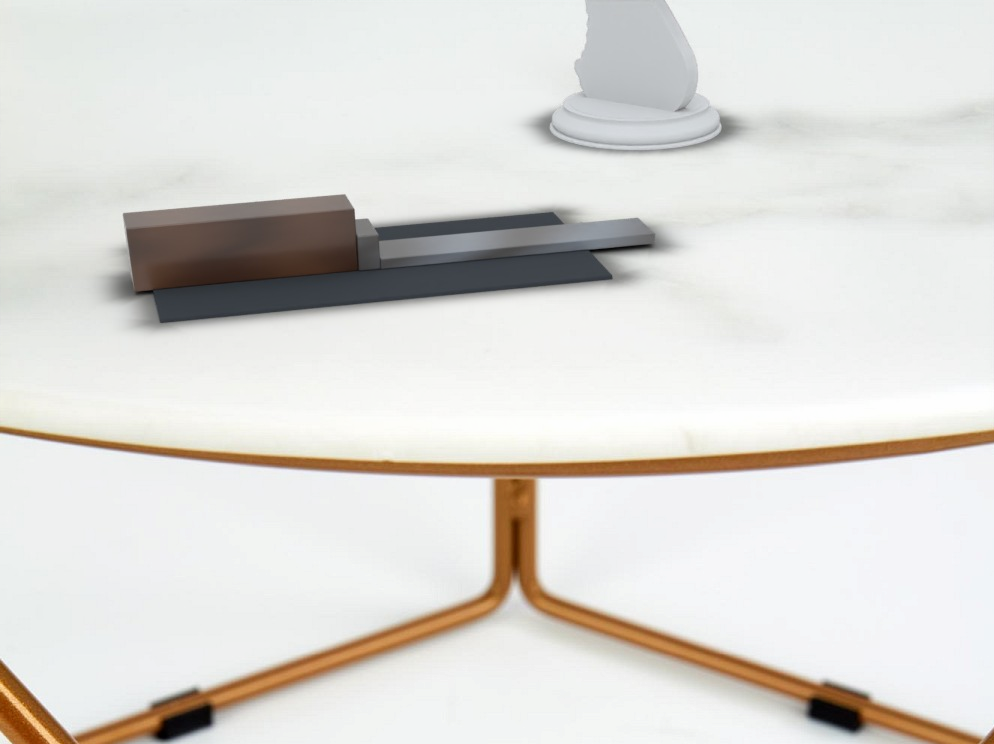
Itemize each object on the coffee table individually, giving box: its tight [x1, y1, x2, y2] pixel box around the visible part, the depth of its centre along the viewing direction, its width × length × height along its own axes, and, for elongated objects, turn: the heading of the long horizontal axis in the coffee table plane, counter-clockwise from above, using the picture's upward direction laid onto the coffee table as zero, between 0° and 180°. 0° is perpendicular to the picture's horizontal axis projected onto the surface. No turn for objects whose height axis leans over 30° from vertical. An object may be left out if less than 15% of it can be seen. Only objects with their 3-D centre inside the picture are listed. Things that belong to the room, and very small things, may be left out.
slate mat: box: [152, 211, 613, 324], centre depth 79 cm, size 20×10×1 cm, turn 104°
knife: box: [122, 193, 656, 292], centre depth 78 cm, size 24×3×3 cm, turn 104°
